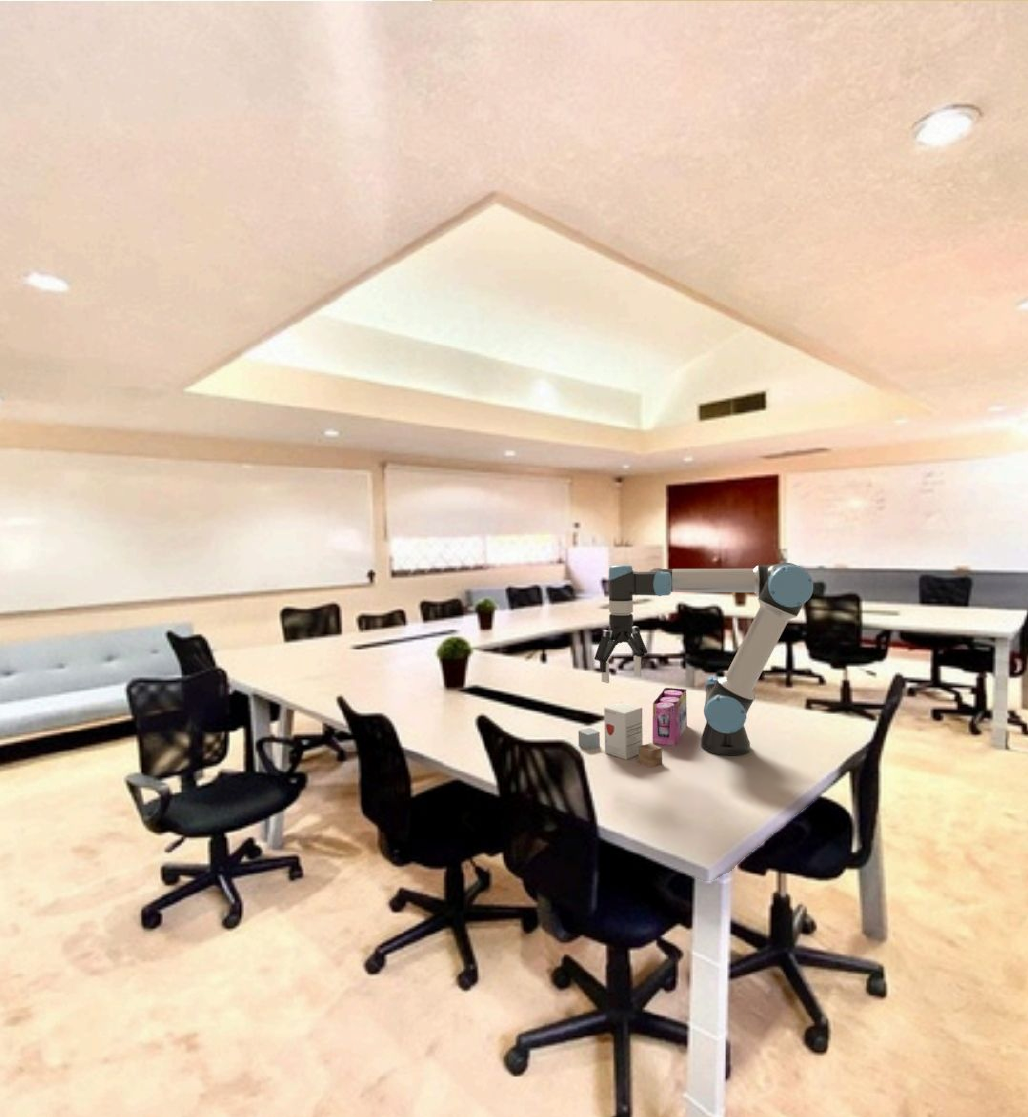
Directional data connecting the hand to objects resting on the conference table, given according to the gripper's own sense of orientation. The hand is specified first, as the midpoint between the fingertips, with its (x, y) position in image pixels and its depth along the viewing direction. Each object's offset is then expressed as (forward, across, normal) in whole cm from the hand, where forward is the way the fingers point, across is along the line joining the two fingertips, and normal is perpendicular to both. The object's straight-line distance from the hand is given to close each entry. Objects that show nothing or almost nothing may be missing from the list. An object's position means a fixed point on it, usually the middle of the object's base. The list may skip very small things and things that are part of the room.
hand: (621, 679), depth 193 cm
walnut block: (+24, -1, +11) cm, 27 cm away
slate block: (+24, +5, -11) cm, 27 cm away
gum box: (+24, -26, -4) cm, 36 cm away
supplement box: (+24, 0, 0) cm, 24 cm away
